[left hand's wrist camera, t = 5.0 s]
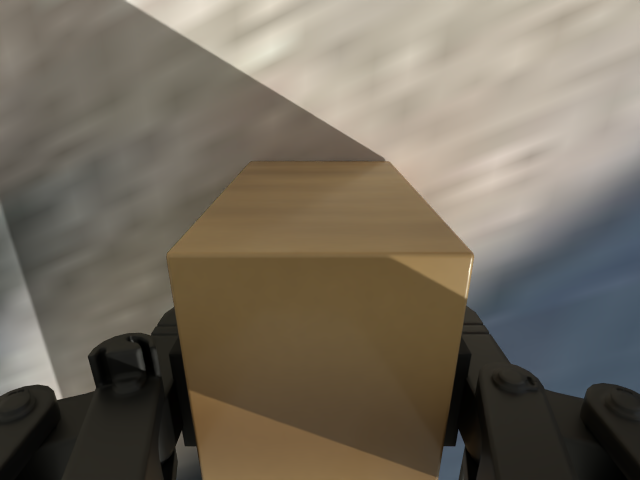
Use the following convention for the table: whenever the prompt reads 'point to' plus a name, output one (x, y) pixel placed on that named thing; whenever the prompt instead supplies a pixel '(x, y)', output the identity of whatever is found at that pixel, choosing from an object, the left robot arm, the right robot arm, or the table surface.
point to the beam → (320, 324)
